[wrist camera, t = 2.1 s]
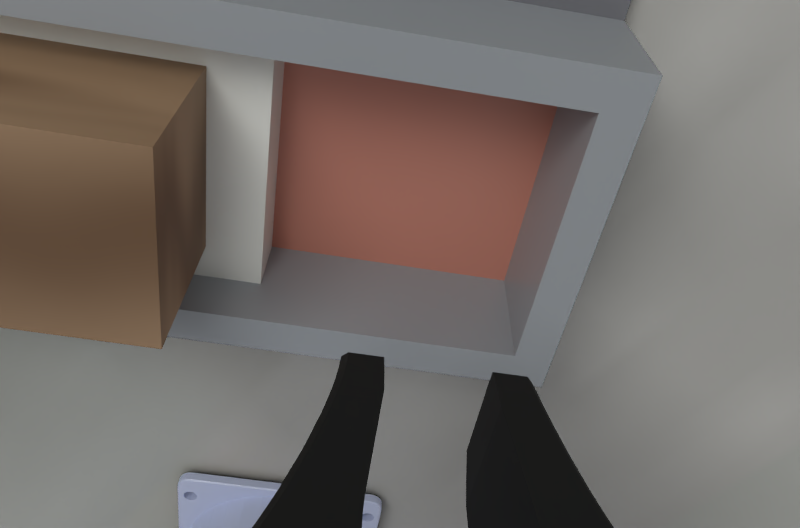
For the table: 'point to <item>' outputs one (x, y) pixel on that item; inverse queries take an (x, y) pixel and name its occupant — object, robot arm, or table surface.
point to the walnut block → (98, 190)
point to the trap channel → (392, 166)
